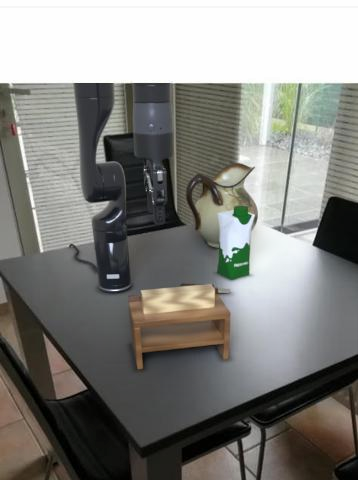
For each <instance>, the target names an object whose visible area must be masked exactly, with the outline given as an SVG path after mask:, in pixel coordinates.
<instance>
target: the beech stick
mask: <svg viewBox="0 0 358 480" xmlns="http://www.w3.org/2000/svg"><path fill="white" fill-rule="evenodd" d="M203 284H204V285H194V286H183V287H180V286H172V287H162V288H151V289H143V290H142V289H141V290H140V295H141V301H142V310H143V313H144V314H153V313H163V312H173V311H183V310H193V309H203V308H213V307H215V289H214V288H215V286H214V287H213V286H212V284H213V283H203Z"/></svg>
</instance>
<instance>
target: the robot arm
mask: <svg viewBox="0 0 358 480" xmlns="http://www.w3.org/2000/svg"><path fill="white" fill-rule="evenodd" d="M72 85H73V96H74V102H75V103H74V104H75V112H76V113H75V114H76V121H77V130H78V131H77V132H78V150H79V151H78V152H79V153H78V155H79V178H80V189H81V193H82V196H83V198H84V200H85V201H86V202H87V203H89V204H97V203H104V202H108V204H107V205H106V206H105V207H104V208H103V209H102V210H100V211H99V212H97V213H96V214H94V215H93V216H92V217H91V228H92V229H91V230H92V236H93V244H94V253H95V261H96V265H95V264H94V263H93V262H91V261H88V260H85V259H81V258H79V257H78V255H79V253H80V252H79V251H80V250H79V248H78V247H77V246H76V245H75V244H73V243H70V244H69V245H68V248H72V247H73V248H74V250H75V253H74V257H73V258H74V259H75V260H76V261H78V262H80V263H84V264H88V265H90V266H91V267H93V269H94V271H95V272H97V279H98V289H99V290H100V291H101V292H103V293H107V294H118V293H123V292H127V291H129V290H130V289H131V288H132V277H131V264H130V254H129V253H130V252H129V240H128V228H127V227H128V226H127V216H128V215H127V213H128V212H127V188H126V187H127V186H126V175H125V171H124V169H123V166H122V165H121V164H120V163H119V162H118V161H104V162H97V151H98V146H99V142H100V140H101V138H102V135H103V132H104V131H105V128H106V126H107V125H108V122H109V120H110V118H111V116H112V114H113V110H114V108H115V102H116V95H115V94H116V93H115V82H114V83H73V82H72ZM131 91H132V116H131V117H132V134H133V153H134V154H133V155H134V157H135V158H136V159H139V160H142V161H143V170H142V171H143V181H144V182H143V183H144V188H145V192H146V197H147V211H148V213H150V214H152V215H153V223H154V225H156V226H157V225H164V224H165V223H166V204H168V201H169V200H168V199H169V198H168V183H167V182H168V180H167V179H168V178H167V177H168V176H167V175H168V172H167V169H166V168H165V166H164V163H163V161H164V160H168V159H172V157H173V156H174V153H175V151H174V114H173V113H174V112H173V105H172V104H173V103H172V82H171V83H132V82H131ZM159 194H160V195H161V196H159Z"/></svg>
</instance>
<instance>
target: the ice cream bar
mask: <svg viewBox="0 0 358 480" xmlns="http://www.w3.org/2000/svg"><path fill="white" fill-rule="evenodd" d="M204 284H205V283H181V284H180V286H179V287H183V286H194V285H204ZM211 284H212V286H213V287H214V288H215V285H214V284H213V283H211ZM219 293H220V294H230V293H232V290H231V289H230V288H218V294H219Z"/></svg>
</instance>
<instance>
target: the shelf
mask: <svg viewBox="0 0 358 480" xmlns="http://www.w3.org/2000/svg"><path fill="white" fill-rule="evenodd" d="M214 289H215V307H213V308H203V309H193V310H183V311H173V312H163V313H153V314H144V313H143V310H142V301H141V294H133V295H131V294H130V295H127V301H128V302H127V303H128V313H129V314H128V315H129V325H130V326H129V327H130V337H131V346H132V351H133V356H134V359H135V364H136V365H135V366H136V369H137V370H144V363H143V361H144V359H143V353H150V352H152V353H153V352H160V351H169V350H178V349H179V350H180V349H187V348H195V347H204V346H213V345H215V347H216V349H217V350H218V352H219V354H220V356H221V358H222V360H229V358H230V357H229V355H230V339H231V337H230V336H231V334H230V333H231V311H230V310H229V309H228V307H227V305H226V304H225V302H224V301H223V300H222V298H221V296H220V295H219V293H218V289H219V287H216V286H215V287H214Z"/></svg>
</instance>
